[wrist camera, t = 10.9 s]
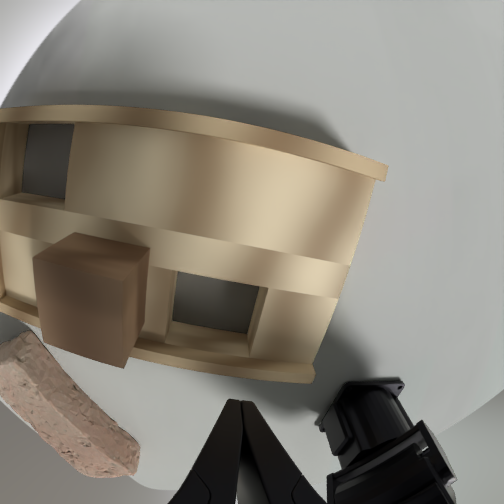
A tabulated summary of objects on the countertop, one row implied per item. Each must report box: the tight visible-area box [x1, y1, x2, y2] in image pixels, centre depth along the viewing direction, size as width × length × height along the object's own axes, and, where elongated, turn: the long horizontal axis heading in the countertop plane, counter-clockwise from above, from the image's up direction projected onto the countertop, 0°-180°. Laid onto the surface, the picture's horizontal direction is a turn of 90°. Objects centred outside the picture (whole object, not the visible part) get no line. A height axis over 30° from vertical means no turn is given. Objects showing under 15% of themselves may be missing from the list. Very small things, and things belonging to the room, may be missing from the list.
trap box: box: [0, 105, 388, 384], centre depth 14 cm, size 22×13×4 cm, turn 77°
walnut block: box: [32, 232, 150, 369], centre depth 12 cm, size 4×4×4 cm
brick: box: [0, 331, 140, 478], centre depth 19 cm, size 17×8×5 cm, turn 26°
